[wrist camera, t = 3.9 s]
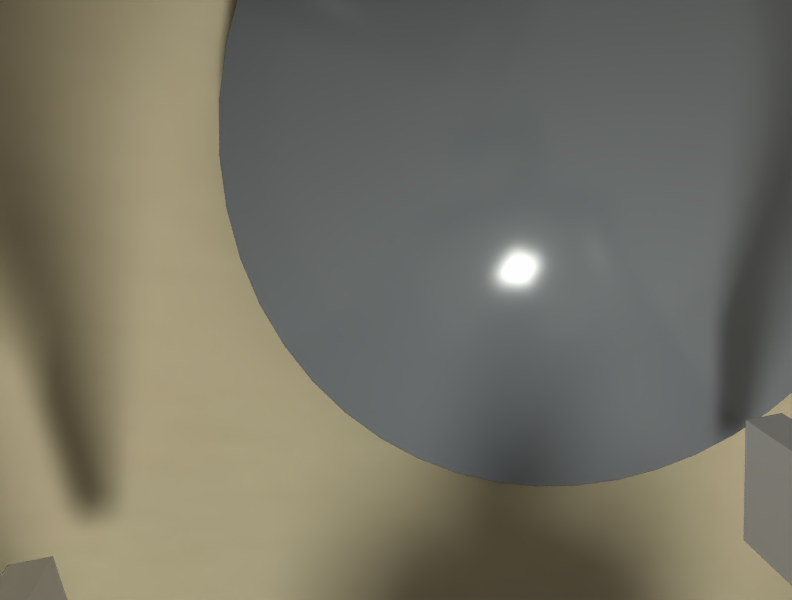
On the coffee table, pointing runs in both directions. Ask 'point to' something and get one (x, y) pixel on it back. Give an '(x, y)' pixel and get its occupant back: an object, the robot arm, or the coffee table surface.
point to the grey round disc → (521, 220)
